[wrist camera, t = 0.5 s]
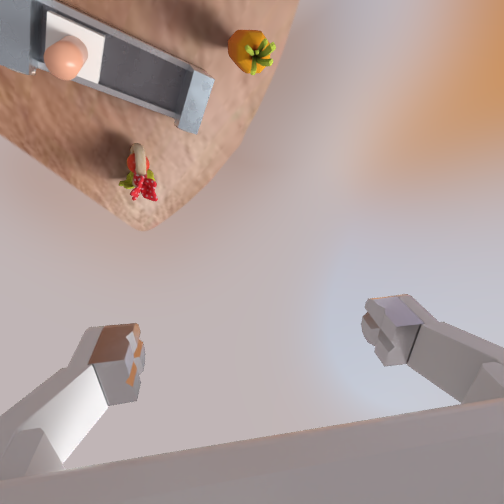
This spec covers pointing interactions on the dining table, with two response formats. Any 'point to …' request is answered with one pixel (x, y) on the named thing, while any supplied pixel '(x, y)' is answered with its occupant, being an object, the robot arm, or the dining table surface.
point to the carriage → (72, 49)
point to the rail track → (109, 62)
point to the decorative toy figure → (139, 174)
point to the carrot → (250, 50)
